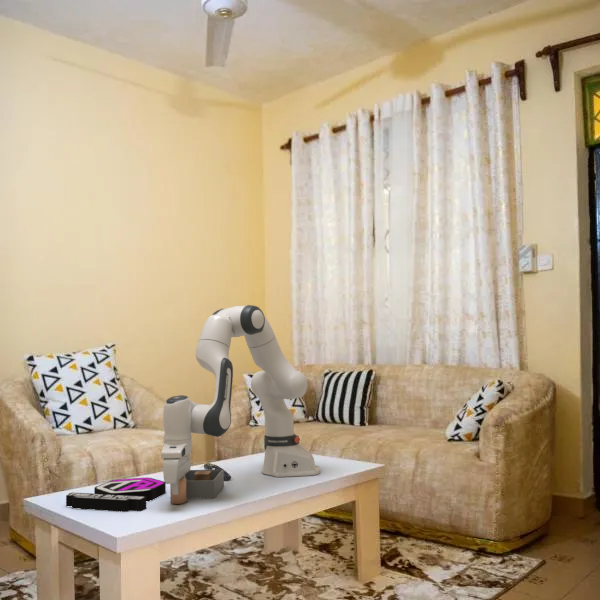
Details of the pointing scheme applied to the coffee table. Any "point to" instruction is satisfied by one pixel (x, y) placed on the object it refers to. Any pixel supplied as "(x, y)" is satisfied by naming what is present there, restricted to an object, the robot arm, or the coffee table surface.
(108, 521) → the coffee table surface
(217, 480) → the box
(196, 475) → the walnut cube
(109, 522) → the coffee table surface
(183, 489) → the terracotta canister
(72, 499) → the sign
